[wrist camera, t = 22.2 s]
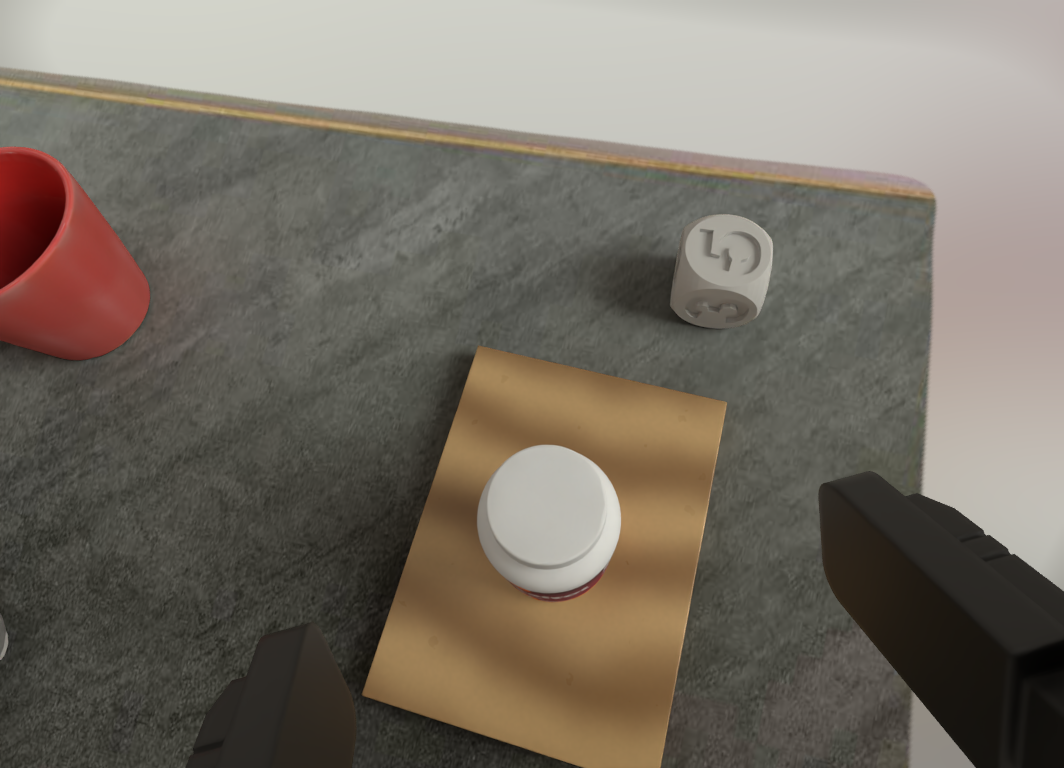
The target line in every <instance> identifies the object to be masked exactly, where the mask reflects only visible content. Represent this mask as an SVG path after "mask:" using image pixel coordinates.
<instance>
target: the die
mask: <svg viewBox="0 0 1064 768" xmlns="http://www.w3.org/2000/svg"><path fill="white" fill-rule="evenodd" d="M772 259H773V243H772V240H771V238H770V237H769V235H768V234H767V233H766V232H765V231H764V230H763V229H762V228H761V227H760V226H758V225H757V224H755V223H754V222H752V221H750V220H748V219H746V218H743V217H740V216H735V215H728V214H718V215H710V216H706V217H703V218H700V219H698V220H695V221H694V222H692V223H690V224H689V225H687V226H686V227H684V229H683V231H682V235H681V239H680V244H679V249H678V254H677V259H676V265H675V271H674V277H673V283H672V290H671V299H670V307H671V308H672V309H673V310H674V312H675V313H676V314H677V315H678V316H679V317H681V318H682V319H683V320H685V321H687V322H689V323H691V324H694V325H697V326H701V327H706V328H716V329H724V328H734V327H738V326H742V325H744V324H747V323H749V322H750V321H752V320H753V319H755V318H756V317H757V316H758V314H759V312H760V310H761V308H762V305H763V302H764V299H765V296H766V292H767V288H768V284H769V279H770V274H771V267H772Z"/></svg>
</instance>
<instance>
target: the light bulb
mask: <svg viewBox="0 0 1064 768" xmlns="http://www.w3.org/2000/svg"><path fill="white" fill-rule="evenodd" d="M7 646H8V635H7V632H6V628H5V624H4V620H3V618H2V615H1V613H0V660H1V659H2V658H3V656H4V655H5V652H6V650H7Z"/></svg>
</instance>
